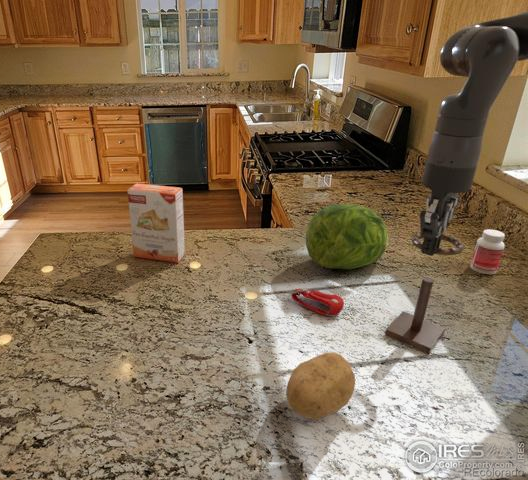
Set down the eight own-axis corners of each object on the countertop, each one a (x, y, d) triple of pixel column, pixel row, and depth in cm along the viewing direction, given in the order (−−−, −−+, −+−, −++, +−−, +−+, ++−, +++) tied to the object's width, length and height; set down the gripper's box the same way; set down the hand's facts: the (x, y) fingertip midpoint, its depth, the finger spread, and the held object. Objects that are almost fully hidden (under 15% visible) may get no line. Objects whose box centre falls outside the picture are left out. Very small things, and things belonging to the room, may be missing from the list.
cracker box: (132, 258, 122) (125, 189, 113) (141, 248, 128) (135, 182, 118) (178, 264, 119) (174, 193, 110) (185, 254, 124) (183, 186, 115)
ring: (469, 245, 81) (470, 240, 80) (453, 260, 75) (455, 254, 75) (421, 232, 87) (422, 227, 86) (403, 245, 81) (404, 240, 80)
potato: (267, 409, 72) (270, 373, 69) (317, 370, 81) (322, 336, 77) (315, 446, 66) (320, 409, 62) (364, 400, 74) (371, 364, 70)
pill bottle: (500, 276, 111) (513, 238, 106) (475, 275, 111) (487, 237, 107) (488, 265, 116) (500, 228, 112) (465, 264, 117) (475, 227, 112)
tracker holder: (332, 287, 105) (355, 300, 95) (328, 304, 106) (351, 319, 96) (287, 283, 102) (307, 296, 92) (284, 300, 102) (303, 315, 93)
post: (444, 333, 90) (459, 279, 84) (429, 354, 84) (444, 297, 78) (401, 316, 96) (413, 264, 90) (384, 334, 90) (396, 280, 84)
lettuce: (420, 243, 110) (384, 188, 119) (358, 250, 98) (323, 187, 107) (372, 277, 124) (343, 225, 132) (313, 286, 112) (285, 228, 120)
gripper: (464, 173, 64) (438, 272, 72) (488, 156, 73) (463, 246, 80) (413, 164, 69) (394, 258, 76) (441, 149, 78) (422, 234, 85)
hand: (429, 251), depth 78 cm, fingers closed on ring, 1 cm apart
